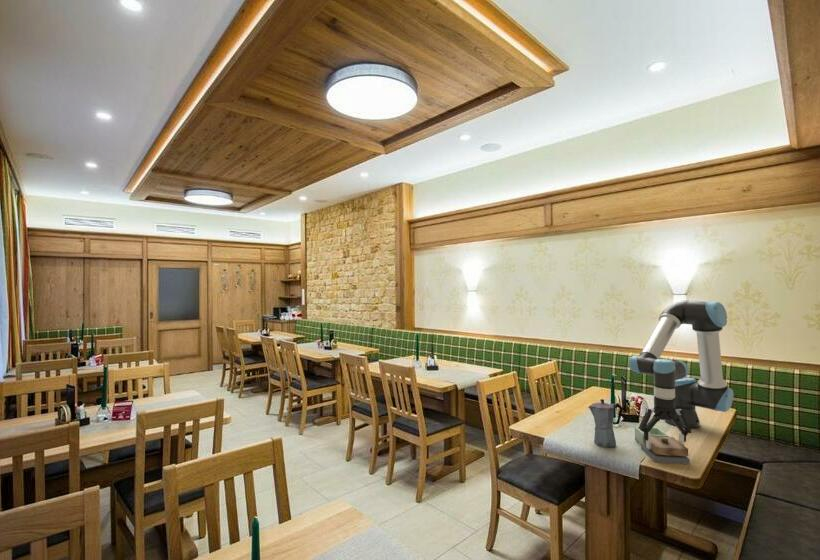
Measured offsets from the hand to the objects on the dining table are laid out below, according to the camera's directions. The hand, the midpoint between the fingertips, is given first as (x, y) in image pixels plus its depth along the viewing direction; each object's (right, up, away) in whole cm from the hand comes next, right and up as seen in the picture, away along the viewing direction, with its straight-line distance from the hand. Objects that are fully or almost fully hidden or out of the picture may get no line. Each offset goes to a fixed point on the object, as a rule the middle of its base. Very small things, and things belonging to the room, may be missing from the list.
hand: (664, 448), depth 167 cm
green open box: (+1, -3, +12) cm, 12 cm away
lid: (0, 0, 0) cm, 0 cm away
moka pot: (-19, -3, +13) cm, 23 cm away
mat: (0, -3, 0) cm, 3 cm away
